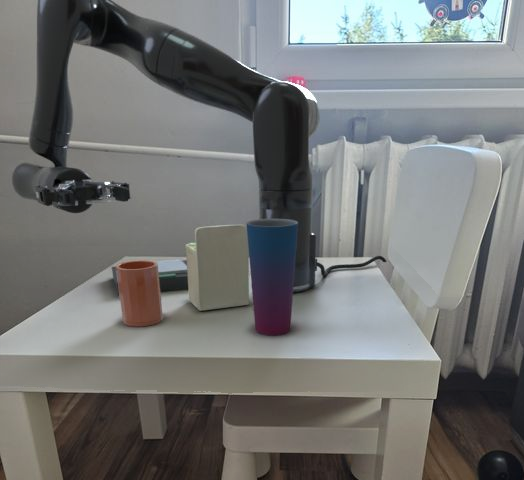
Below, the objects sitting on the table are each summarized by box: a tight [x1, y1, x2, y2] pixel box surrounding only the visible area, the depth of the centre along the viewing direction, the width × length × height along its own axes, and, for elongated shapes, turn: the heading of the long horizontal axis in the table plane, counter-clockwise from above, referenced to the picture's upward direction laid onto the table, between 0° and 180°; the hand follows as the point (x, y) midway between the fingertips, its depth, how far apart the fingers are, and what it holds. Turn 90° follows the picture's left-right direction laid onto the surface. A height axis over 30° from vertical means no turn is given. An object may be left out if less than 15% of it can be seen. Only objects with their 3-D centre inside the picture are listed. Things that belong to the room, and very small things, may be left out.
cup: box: [246, 219, 298, 336], centre depth 68 cm, size 7×7×15 cm
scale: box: [111, 258, 188, 297], centre depth 95 cm, size 15×13×3 cm
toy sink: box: [185, 224, 250, 312], centre depth 81 cm, size 8×7×13 cm
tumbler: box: [115, 260, 164, 328], centre depth 74 cm, size 6×6×8 cm
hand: (99, 196), depth 77 cm, fingers open, 8 cm apart
